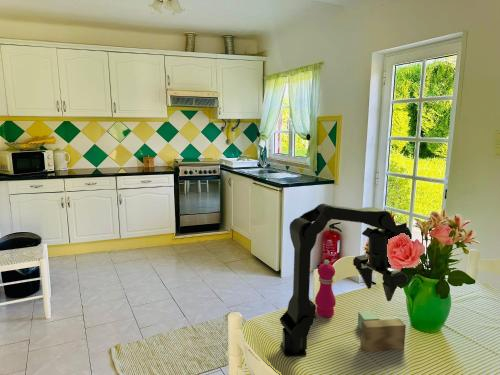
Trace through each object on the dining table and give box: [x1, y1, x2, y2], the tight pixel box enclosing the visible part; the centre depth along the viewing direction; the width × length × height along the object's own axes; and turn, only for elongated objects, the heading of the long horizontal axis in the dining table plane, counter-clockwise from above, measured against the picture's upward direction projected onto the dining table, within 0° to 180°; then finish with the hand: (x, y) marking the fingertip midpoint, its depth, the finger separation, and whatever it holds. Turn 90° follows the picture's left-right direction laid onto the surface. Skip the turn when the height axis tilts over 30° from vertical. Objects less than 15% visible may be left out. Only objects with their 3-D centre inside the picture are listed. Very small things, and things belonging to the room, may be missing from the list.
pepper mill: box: [314, 259, 336, 318], centre depth 124 cm, size 7×7×20 cm
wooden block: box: [360, 318, 407, 353], centre depth 105 cm, size 12×4×8 cm, turn 96°
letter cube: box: [357, 310, 381, 331], centre depth 115 cm, size 5×5×5 cm
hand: (378, 294), depth 111 cm, fingers open, 9 cm apart
